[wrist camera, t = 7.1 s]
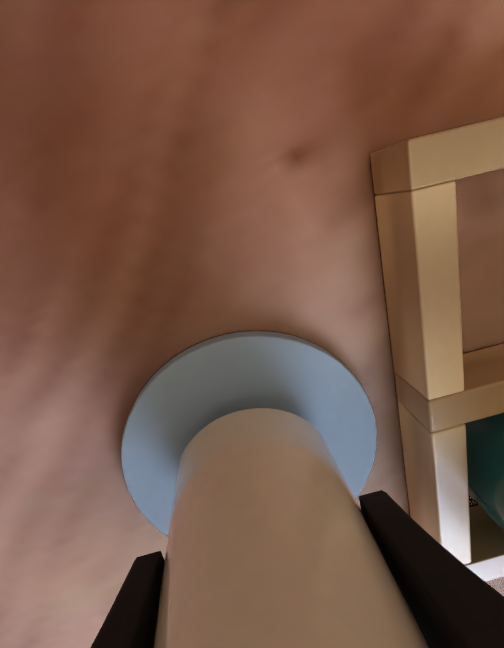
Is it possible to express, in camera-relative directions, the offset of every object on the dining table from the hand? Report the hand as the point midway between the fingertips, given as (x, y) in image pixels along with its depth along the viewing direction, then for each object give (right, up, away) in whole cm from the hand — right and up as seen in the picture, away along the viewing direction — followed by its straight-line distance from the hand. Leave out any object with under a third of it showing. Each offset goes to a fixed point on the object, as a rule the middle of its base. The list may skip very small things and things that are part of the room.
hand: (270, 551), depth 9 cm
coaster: (-1, +1, +4) cm, 4 cm away
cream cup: (0, +1, +3) cm, 3 cm away
